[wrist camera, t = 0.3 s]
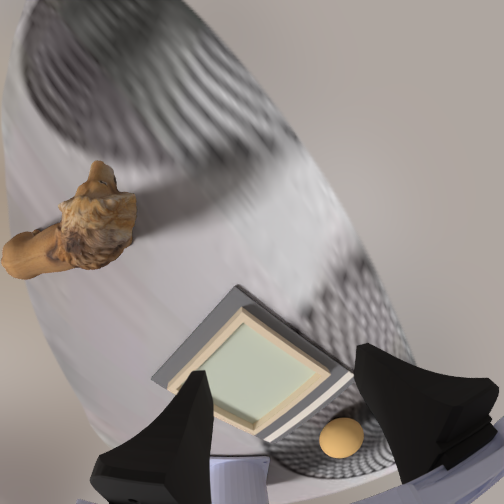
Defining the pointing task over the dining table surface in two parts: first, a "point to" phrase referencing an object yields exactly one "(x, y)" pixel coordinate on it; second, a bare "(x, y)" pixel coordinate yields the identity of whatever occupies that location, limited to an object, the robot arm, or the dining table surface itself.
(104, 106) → the dining table surface
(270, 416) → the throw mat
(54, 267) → the lion figurine
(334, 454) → the ball
